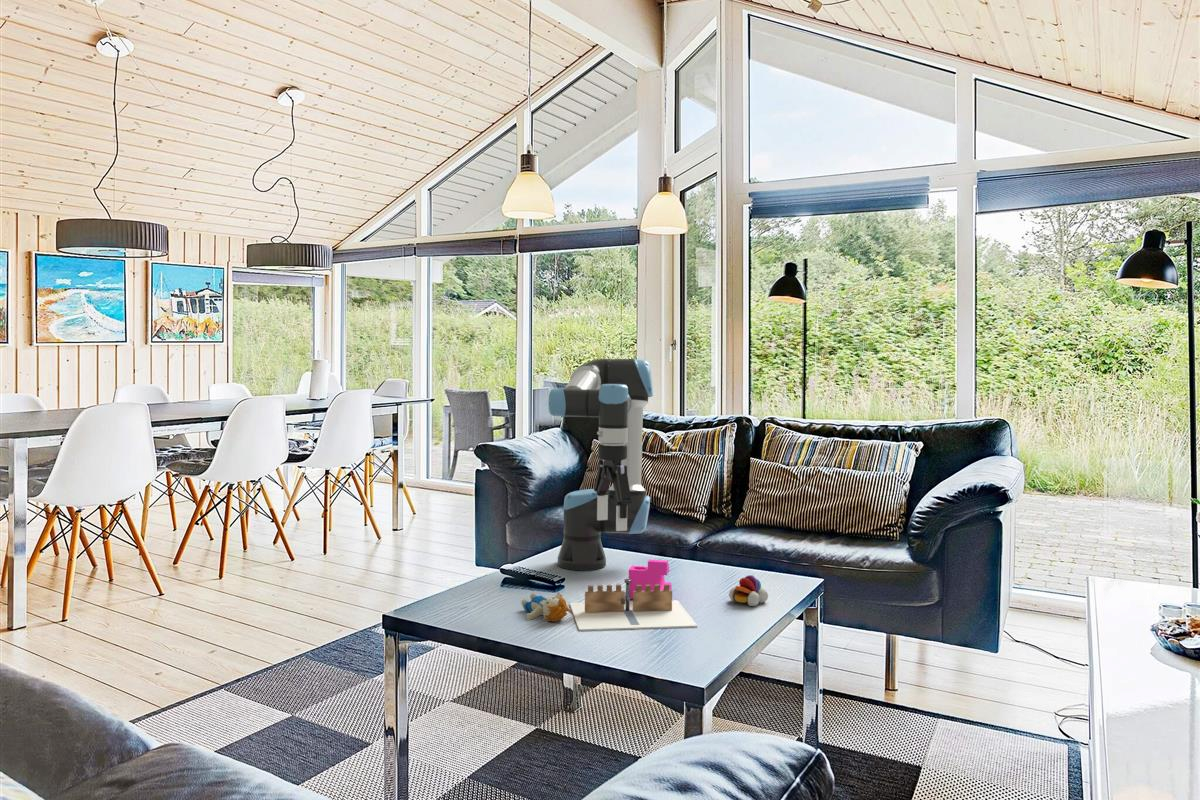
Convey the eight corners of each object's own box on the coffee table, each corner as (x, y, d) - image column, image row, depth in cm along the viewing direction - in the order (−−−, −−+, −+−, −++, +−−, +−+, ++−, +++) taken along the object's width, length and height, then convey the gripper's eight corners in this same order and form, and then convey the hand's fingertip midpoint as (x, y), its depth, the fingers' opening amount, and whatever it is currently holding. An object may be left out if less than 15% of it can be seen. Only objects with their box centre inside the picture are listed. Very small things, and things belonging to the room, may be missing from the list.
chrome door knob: (623, 610, 220) (623, 579, 220) (630, 609, 220) (630, 578, 220) (624, 612, 218) (625, 580, 218) (631, 611, 219) (632, 580, 218)
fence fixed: (633, 611, 219) (634, 586, 219) (632, 610, 220) (633, 584, 220) (671, 610, 220) (672, 585, 220) (670, 608, 222) (671, 583, 221)
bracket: (666, 600, 229) (666, 562, 228) (628, 598, 231) (628, 560, 230) (671, 590, 240) (672, 553, 240) (635, 587, 242) (636, 551, 242)
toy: (543, 581, 224) (576, 588, 212) (551, 601, 225) (585, 609, 213) (507, 605, 217) (540, 614, 205) (516, 625, 219) (549, 635, 207)
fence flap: (623, 609, 220) (624, 584, 220) (625, 611, 218) (625, 585, 218) (584, 610, 219) (584, 585, 218) (585, 612, 217) (585, 586, 216)
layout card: (570, 604, 225) (570, 602, 225) (677, 601, 229) (677, 599, 229) (579, 631, 205) (579, 629, 204) (697, 627, 209) (697, 625, 209)
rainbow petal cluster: (724, 602, 229) (725, 576, 229) (745, 595, 236) (745, 569, 236) (751, 609, 224) (752, 582, 223) (771, 602, 231) (772, 575, 230)
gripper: (583, 438, 231) (582, 516, 232) (617, 450, 208) (616, 536, 209) (608, 438, 234) (607, 514, 235) (645, 449, 210) (644, 534, 212)
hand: (611, 525), depth 222 cm, fingers open, 13 cm apart
